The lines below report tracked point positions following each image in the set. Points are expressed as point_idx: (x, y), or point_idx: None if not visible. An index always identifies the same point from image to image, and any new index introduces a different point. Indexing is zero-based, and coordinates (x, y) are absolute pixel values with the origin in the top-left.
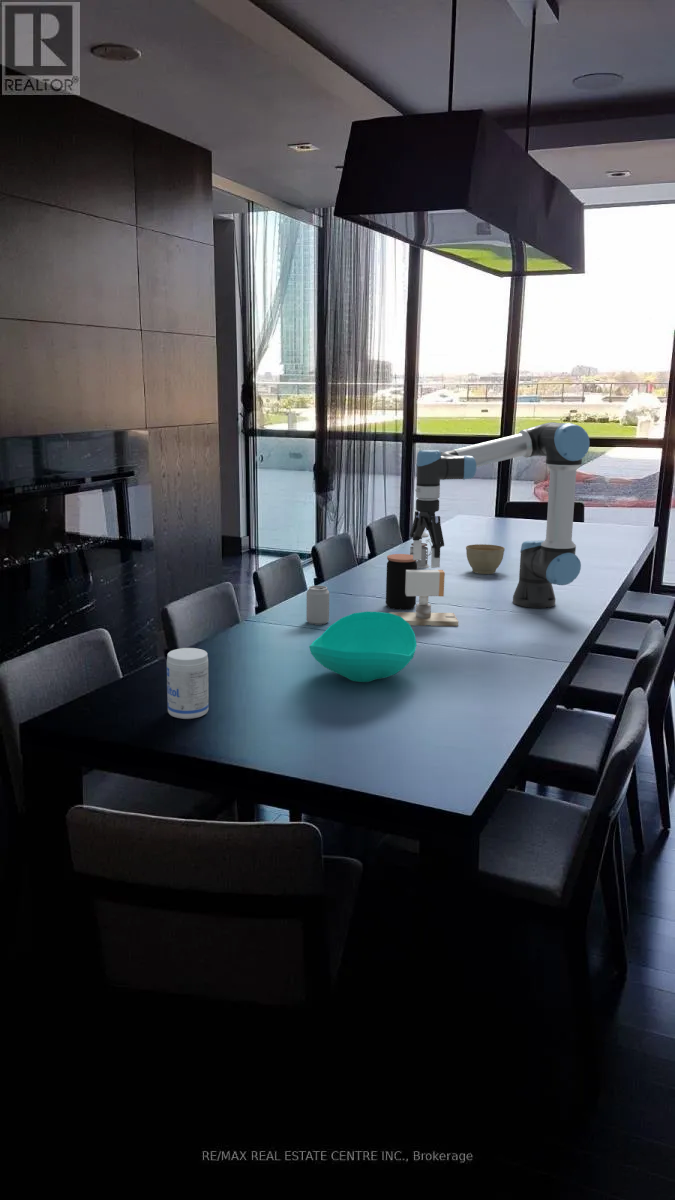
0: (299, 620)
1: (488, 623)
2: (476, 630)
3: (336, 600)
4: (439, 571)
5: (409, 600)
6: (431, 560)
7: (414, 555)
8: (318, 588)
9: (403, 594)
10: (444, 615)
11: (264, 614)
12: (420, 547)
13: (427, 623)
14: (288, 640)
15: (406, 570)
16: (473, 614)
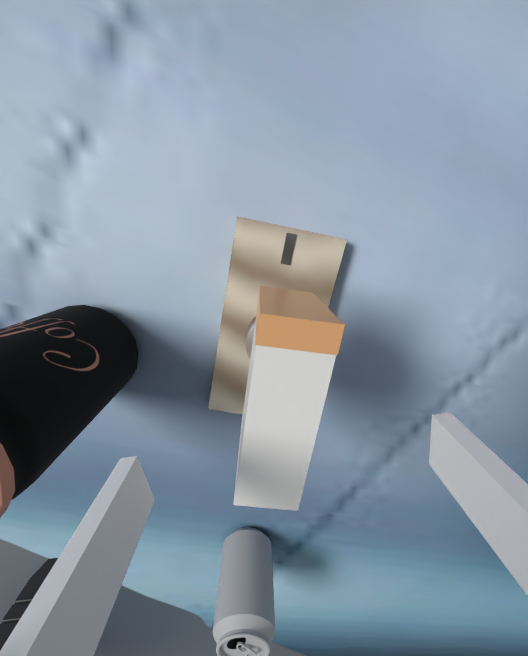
0: None
1: (336, 112)
2: (405, 196)
3: (39, 484)
4: (311, 350)
5: (122, 343)
6: (471, 513)
7: (140, 532)
8: (253, 651)
9: (118, 374)
10: (266, 261)
11: (175, 605)
12: (81, 574)
13: None
14: (358, 588)
15: (251, 506)
16: (206, 122)
